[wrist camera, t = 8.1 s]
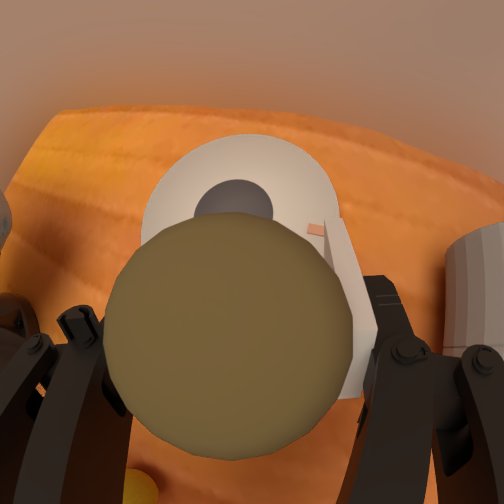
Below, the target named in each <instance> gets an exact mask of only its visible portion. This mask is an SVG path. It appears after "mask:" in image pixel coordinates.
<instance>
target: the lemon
mask: <svg viewBox="0 0 504 504" xmlns="http://www.w3.org/2000/svg"><path fill="white" fill-rule="evenodd" d="M158 498H159V492H158V488H157V486H156V483H155V482H154V481H153V479H152V478H151V477H150V476H148V475H147V474H146V473H144V472H142V471H140V470H136V469H130V468H126V472H125V481H124V492H123V504H157V502H158Z"/></svg>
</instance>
